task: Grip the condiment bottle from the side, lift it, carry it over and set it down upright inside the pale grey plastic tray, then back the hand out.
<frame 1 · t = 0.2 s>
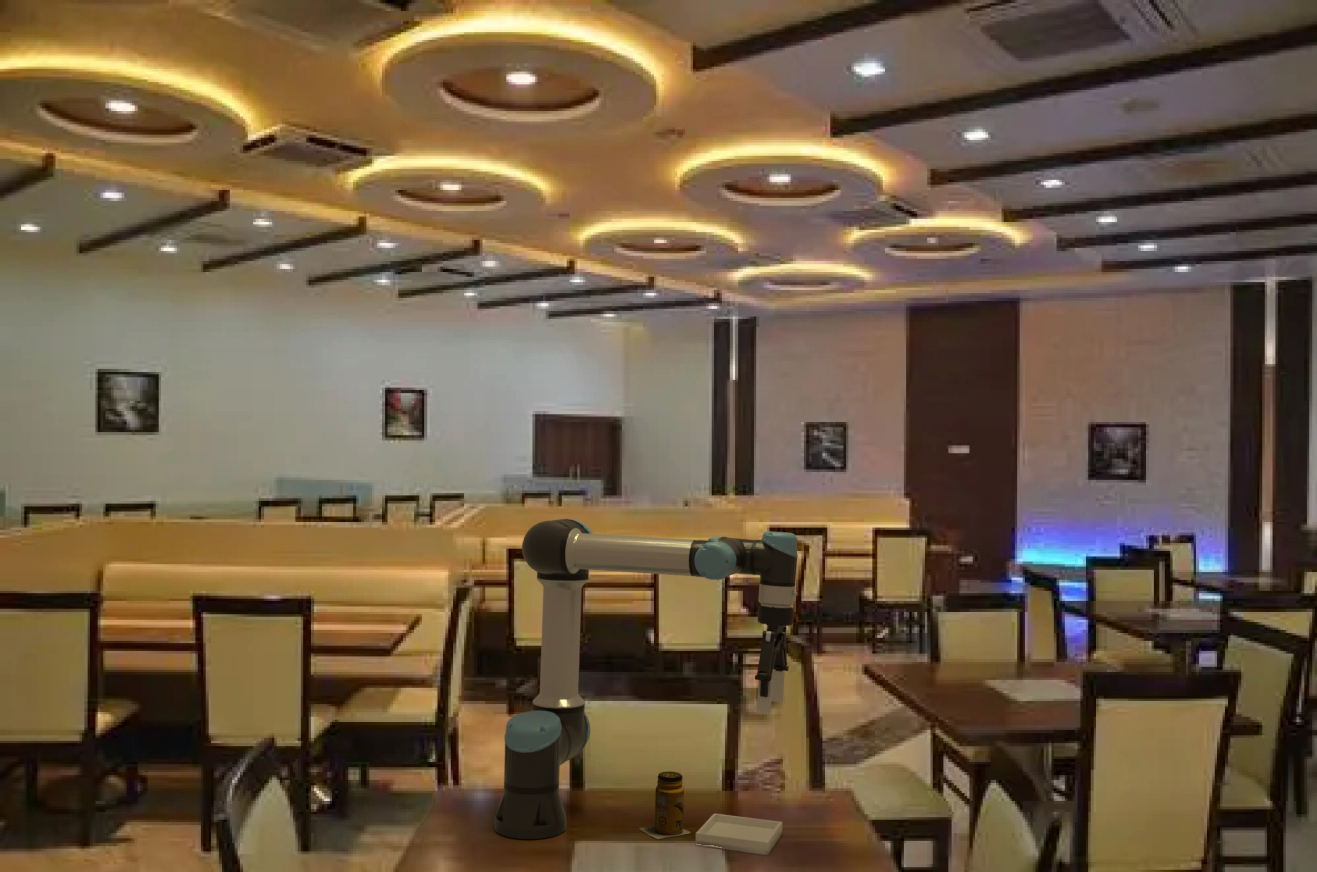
hand: (770, 706, 231), 27 cm above the table, tool pointing down, fingers open, 13 cm apart
tray: (739, 839, 229), on the table
condiment: (664, 832, 233), on the table
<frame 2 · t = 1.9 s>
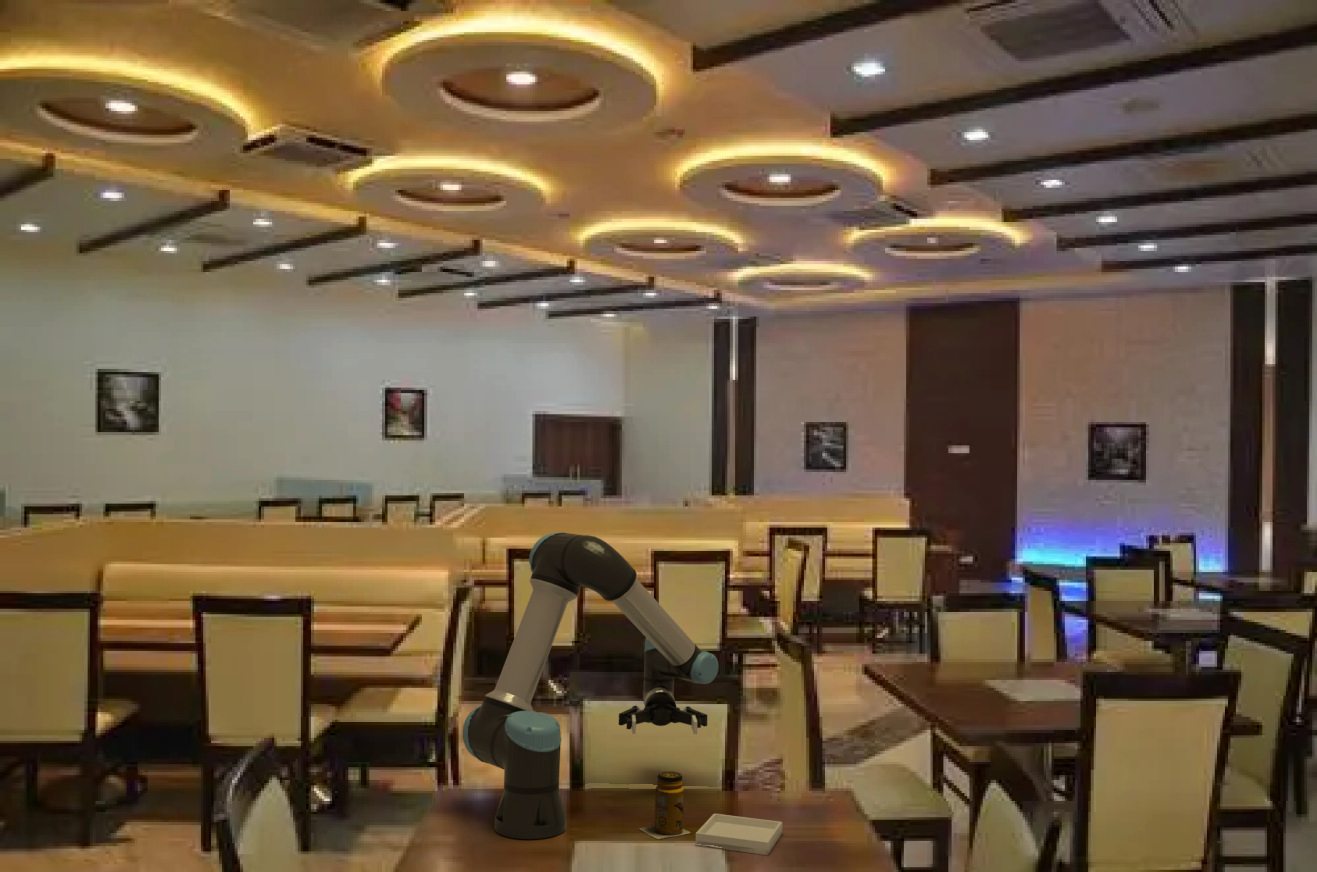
hand: (664, 727, 243), 19 cm above the table, tool horizontal, fingers open, 13 cm apart
nothing on the table moved.
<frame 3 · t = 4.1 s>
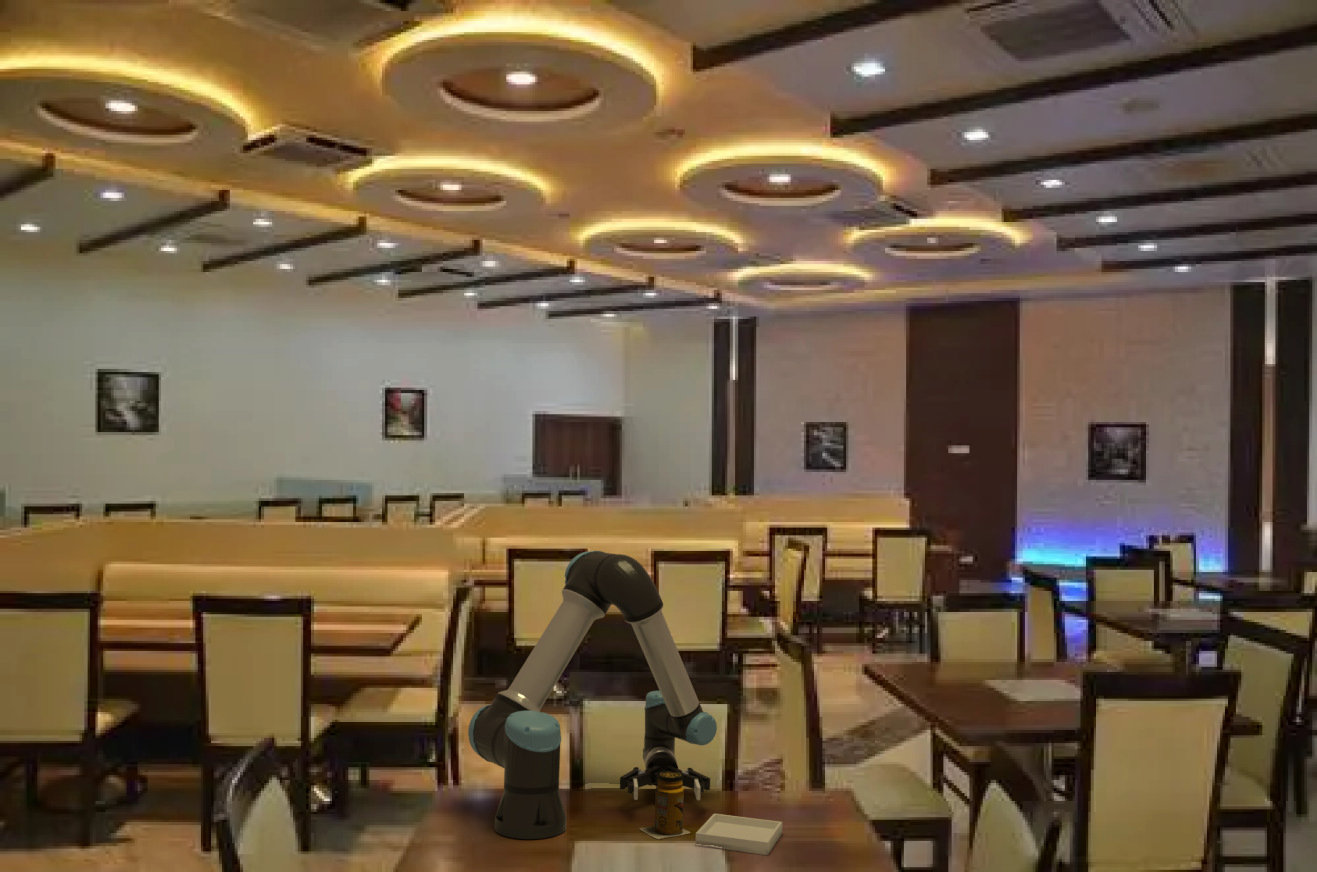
hand: (667, 793, 238), 6 cm above the table, tool horizontal, fingers open, 13 cm apart
nothing on the table moved.
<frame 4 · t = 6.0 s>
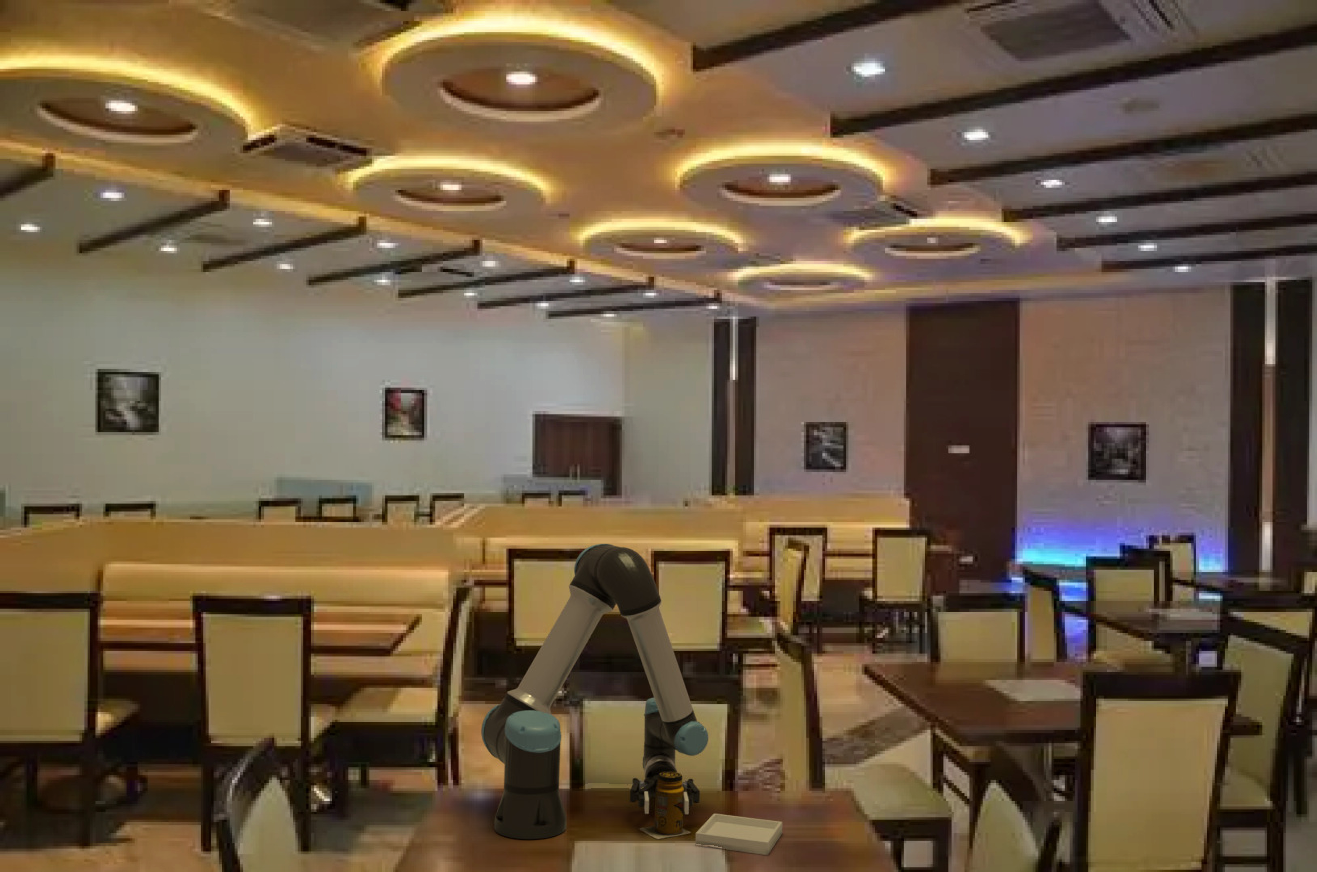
hand: (667, 807, 228), 6 cm above the table, tool horizontal, fingers open, 8 cm apart
condiment: (664, 832, 233), on the table, touching gripper
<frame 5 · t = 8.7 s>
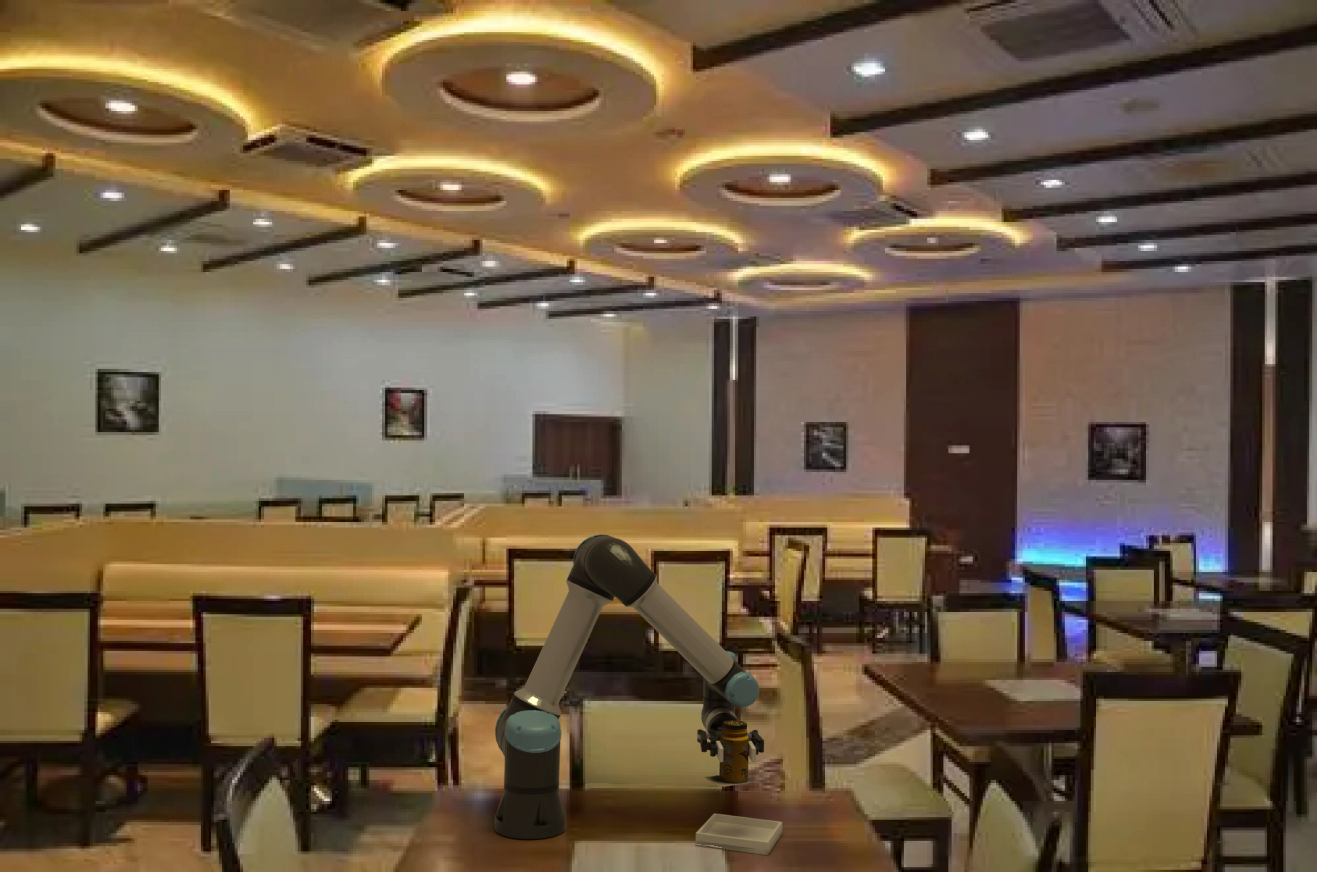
hand: (737, 755, 225), 18 cm above the table, tool horizontal, fingers closed on condiment, 6 cm apart
condiment: (729, 781, 230), point 12 cm above the table, touching gripper
when the fingers open (9 cm above the table, at t = 10.9 s): condiment drops 1 cm, resting on tray.
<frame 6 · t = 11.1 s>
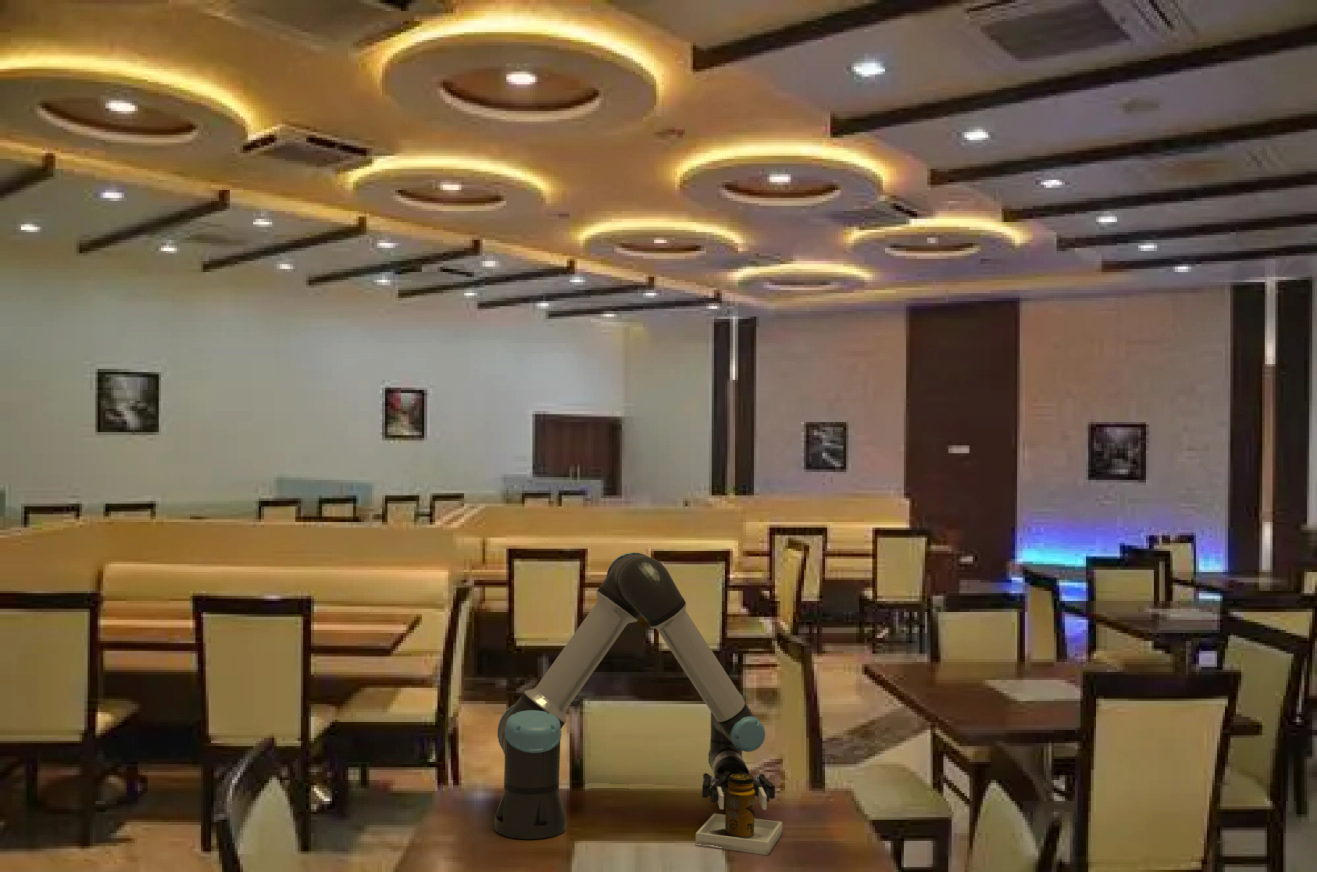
hand: (743, 802, 224), 9 cm above the table, tool horizontal, fingers open, 8 cm apart
condiment: (735, 835, 229), point 1 cm above the table, touching tray
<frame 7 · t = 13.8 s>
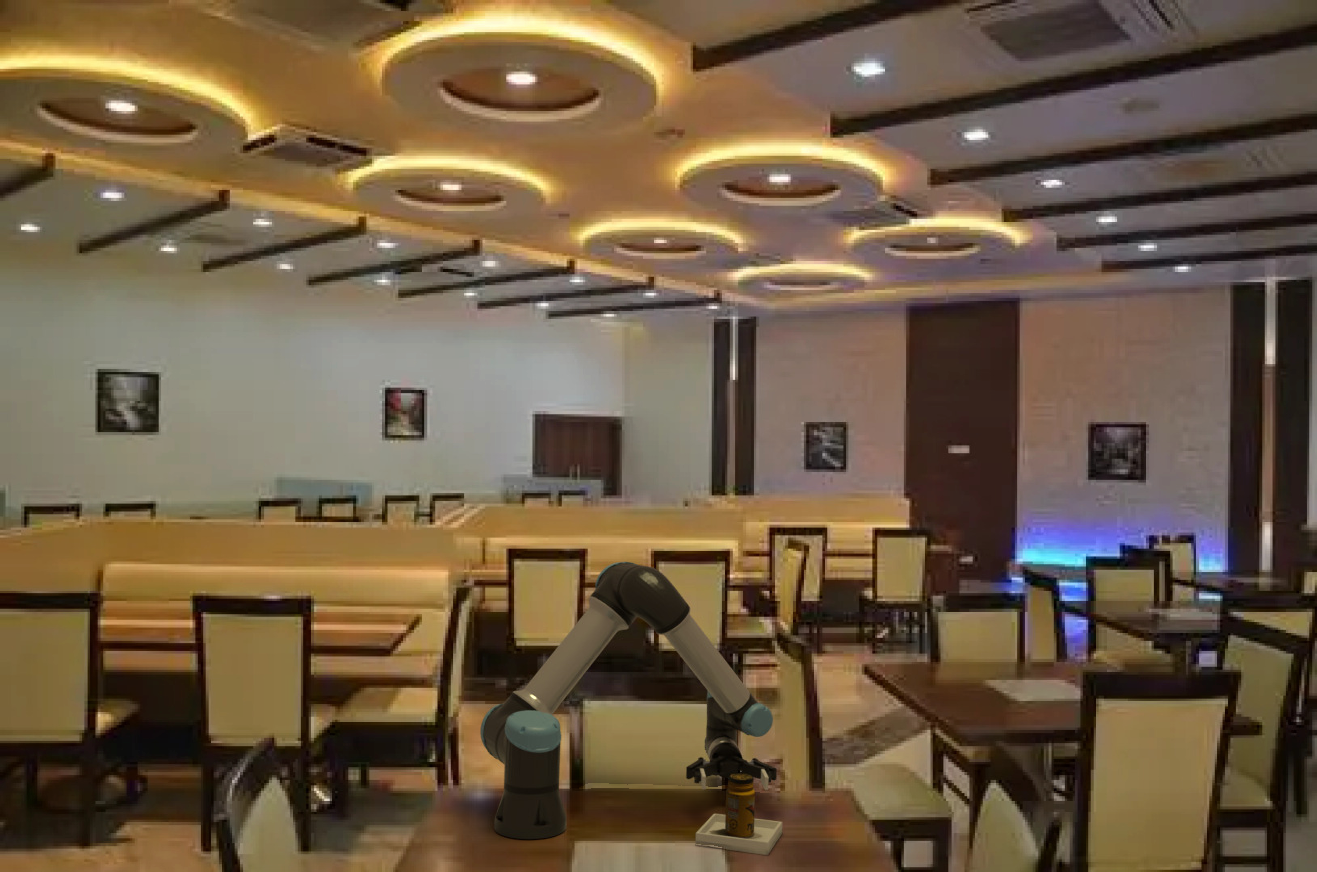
hand: (735, 783, 238), 9 cm above the table, tool horizontal, fingers open, 13 cm apart
nothing on the table moved.
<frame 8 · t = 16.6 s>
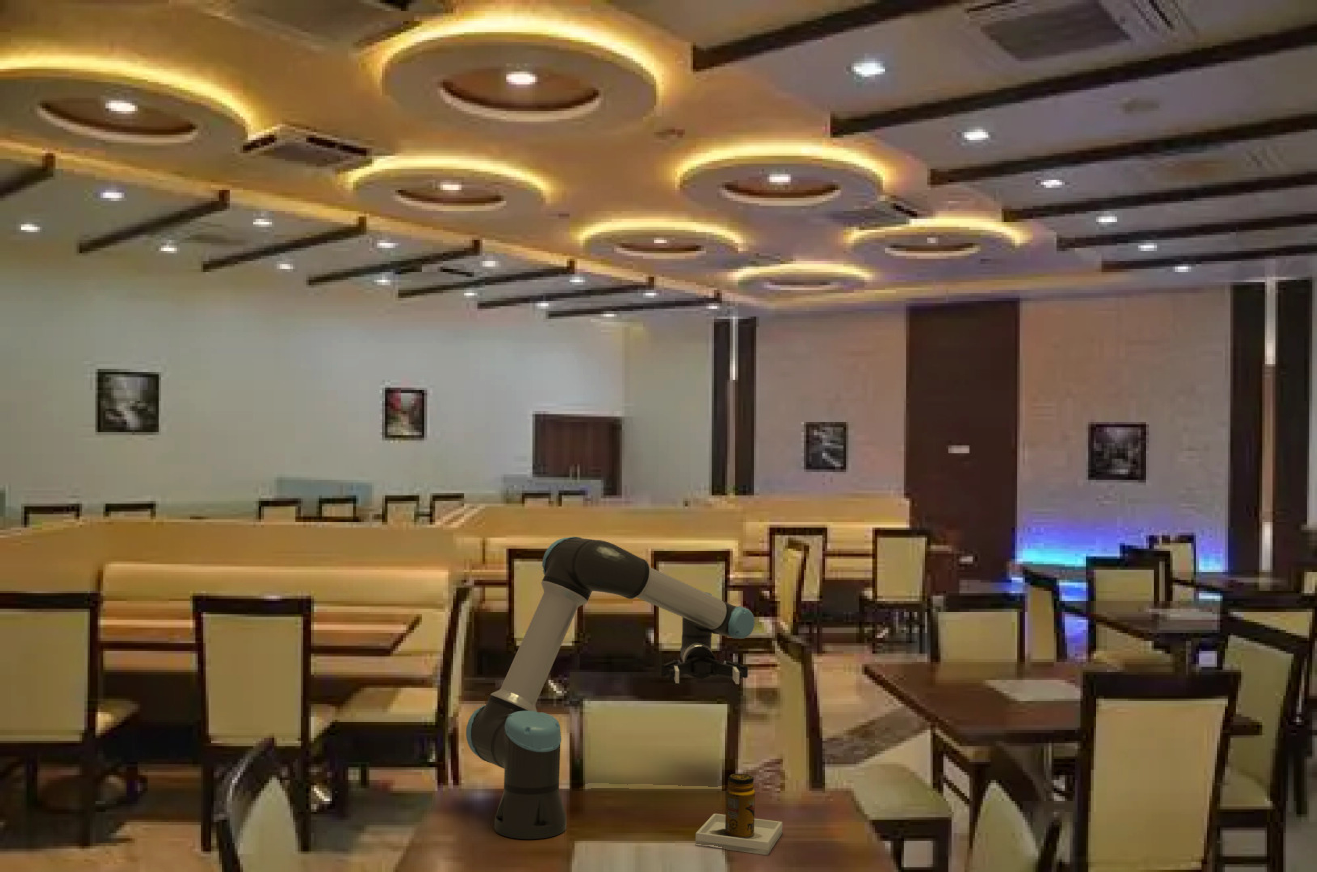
hand: (707, 677, 248), 30 cm above the table, tool horizontal, fingers open, 13 cm apart
nothing on the table moved.
at the end: condiment inside the target area on the tray (0.9 cm from its centre), point 0.8 cm above the tray's base; condiment tilted 0°; the gripper is holding nothing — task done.
